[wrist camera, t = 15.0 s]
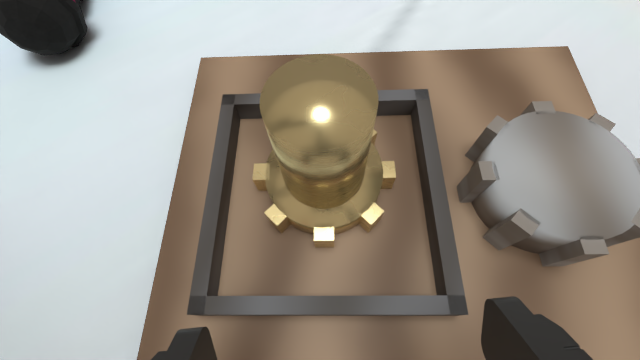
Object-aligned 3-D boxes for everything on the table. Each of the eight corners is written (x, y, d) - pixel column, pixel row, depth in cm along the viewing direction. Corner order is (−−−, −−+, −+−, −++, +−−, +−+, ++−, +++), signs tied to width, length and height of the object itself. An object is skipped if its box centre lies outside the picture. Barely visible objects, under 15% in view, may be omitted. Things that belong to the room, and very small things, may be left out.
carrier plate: (134, 425, 15) (69, 457, 11) (206, 67, 24) (183, 22, 20) (717, 433, 14) (853, 472, 10) (558, 57, 23) (600, 6, 19)
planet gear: (253, 248, 17) (199, 196, 10) (264, 128, 20) (228, 28, 13) (397, 246, 17) (440, 192, 10) (385, 125, 20) (411, 21, 13)
